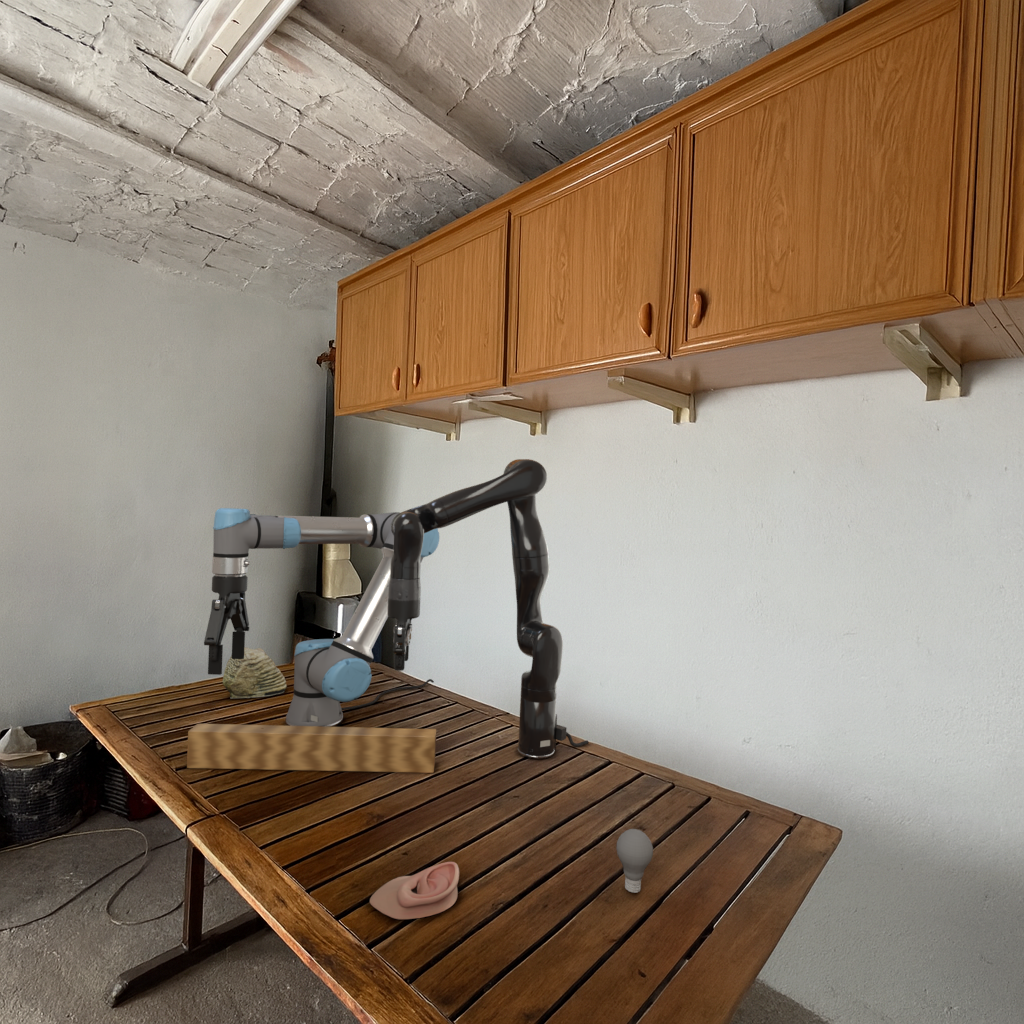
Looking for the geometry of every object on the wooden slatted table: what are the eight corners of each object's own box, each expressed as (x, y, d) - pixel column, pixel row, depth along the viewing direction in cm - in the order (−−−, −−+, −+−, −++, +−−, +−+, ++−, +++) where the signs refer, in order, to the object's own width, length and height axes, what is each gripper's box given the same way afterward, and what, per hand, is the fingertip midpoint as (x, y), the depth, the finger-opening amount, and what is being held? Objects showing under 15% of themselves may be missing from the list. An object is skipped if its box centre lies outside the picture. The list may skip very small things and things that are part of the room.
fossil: (218, 695, 195) (220, 647, 195) (278, 685, 208) (279, 640, 207) (228, 703, 189) (230, 653, 188) (289, 692, 201) (290, 645, 201)
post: (186, 768, 145) (188, 731, 144) (196, 759, 150) (197, 723, 149) (433, 772, 148) (435, 736, 148) (435, 763, 153) (436, 729, 153)
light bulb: (610, 879, 108) (613, 822, 108) (644, 879, 109) (647, 822, 109) (619, 902, 102) (622, 840, 102) (655, 901, 103) (658, 840, 103)
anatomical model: (361, 887, 97) (391, 847, 108) (360, 913, 97) (390, 870, 108) (444, 902, 94) (465, 860, 105) (443, 928, 94) (464, 883, 106)
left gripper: (225, 582, 134) (221, 681, 135) (264, 569, 159) (261, 653, 160) (189, 581, 134) (185, 680, 134) (234, 568, 159) (231, 652, 159)
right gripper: (417, 602, 142) (414, 674, 142) (422, 592, 156) (420, 658, 157) (383, 601, 142) (381, 673, 142) (392, 591, 156) (389, 657, 156)
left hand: (226, 666), depth 147 cm, fingers open, 13 cm apart
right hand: (401, 665), depth 149 cm, fingers open, 8 cm apart
